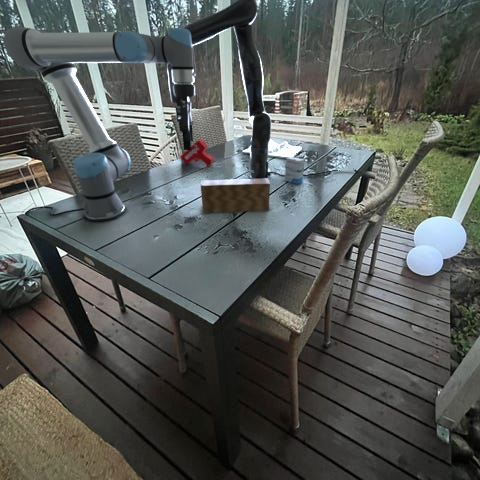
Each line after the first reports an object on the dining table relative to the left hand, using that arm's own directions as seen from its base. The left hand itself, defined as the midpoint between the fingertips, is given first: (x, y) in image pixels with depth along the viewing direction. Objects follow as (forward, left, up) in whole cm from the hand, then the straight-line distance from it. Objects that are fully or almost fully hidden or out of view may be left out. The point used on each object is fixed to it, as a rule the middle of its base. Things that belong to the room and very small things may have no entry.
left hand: (188, 145), depth 108 cm
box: (+18, -7, -25) cm, 32 cm away
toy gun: (-3, +57, -25) cm, 62 cm away
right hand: (-4, +23, +2) cm, 24 cm away
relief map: (+50, +83, -25) cm, 100 cm away
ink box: (+50, +23, -25) cm, 61 cm away
